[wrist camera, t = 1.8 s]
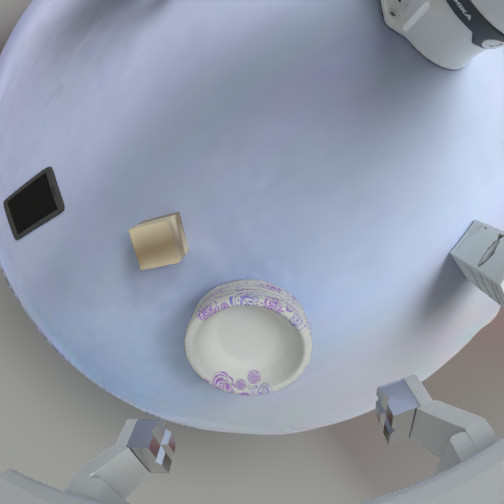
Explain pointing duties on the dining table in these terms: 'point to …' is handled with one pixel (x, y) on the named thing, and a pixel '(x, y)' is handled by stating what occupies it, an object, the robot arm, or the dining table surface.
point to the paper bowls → (248, 338)
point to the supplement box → (482, 259)
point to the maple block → (159, 241)
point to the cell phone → (34, 203)
